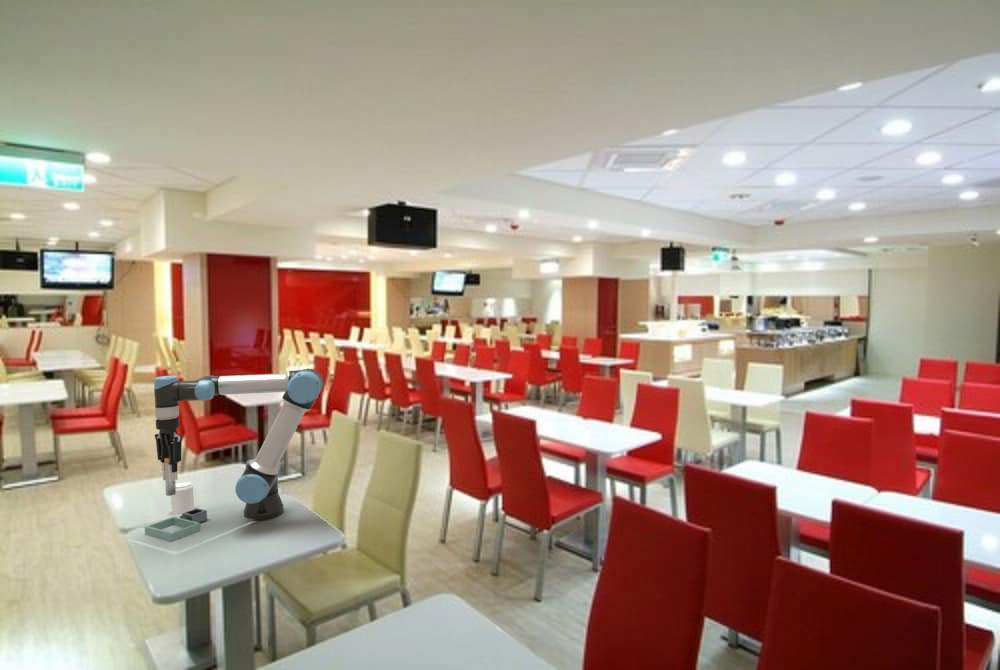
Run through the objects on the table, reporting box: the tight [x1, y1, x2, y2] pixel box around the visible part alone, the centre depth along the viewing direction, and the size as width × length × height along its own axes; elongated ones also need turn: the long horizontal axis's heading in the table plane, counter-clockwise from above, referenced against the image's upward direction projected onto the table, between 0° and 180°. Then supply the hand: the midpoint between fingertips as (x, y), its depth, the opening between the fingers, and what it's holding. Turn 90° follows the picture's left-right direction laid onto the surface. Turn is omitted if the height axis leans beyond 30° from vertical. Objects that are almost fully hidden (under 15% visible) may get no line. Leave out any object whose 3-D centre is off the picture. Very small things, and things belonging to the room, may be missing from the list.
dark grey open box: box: [179, 507, 211, 525], centre depth 213 cm, size 12×8×5 cm, turn 63°
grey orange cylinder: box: [164, 457, 176, 497], centre depth 201 cm, size 3×3×14 cm
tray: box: [144, 516, 201, 542], centre depth 202 cm, size 16×11×4 cm
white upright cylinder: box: [170, 481, 195, 515], centre depth 225 cm, size 8×8×12 cm
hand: (170, 479), depth 201 cm, fingers closed on grey orange cylinder, 3 cm apart
